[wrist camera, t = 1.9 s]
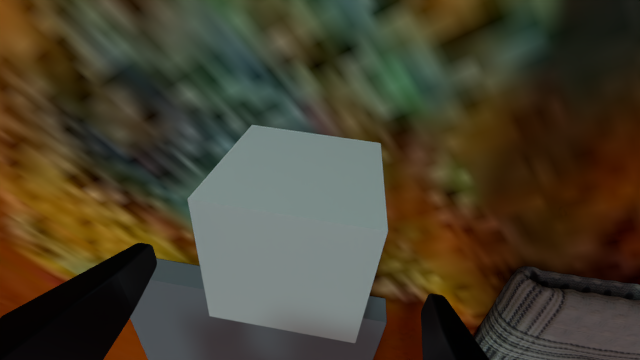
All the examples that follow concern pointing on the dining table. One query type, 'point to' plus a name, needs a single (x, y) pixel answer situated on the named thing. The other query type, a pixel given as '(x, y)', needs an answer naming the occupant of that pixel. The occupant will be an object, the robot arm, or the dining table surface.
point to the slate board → (232, 326)
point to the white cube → (292, 231)
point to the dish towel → (562, 319)
